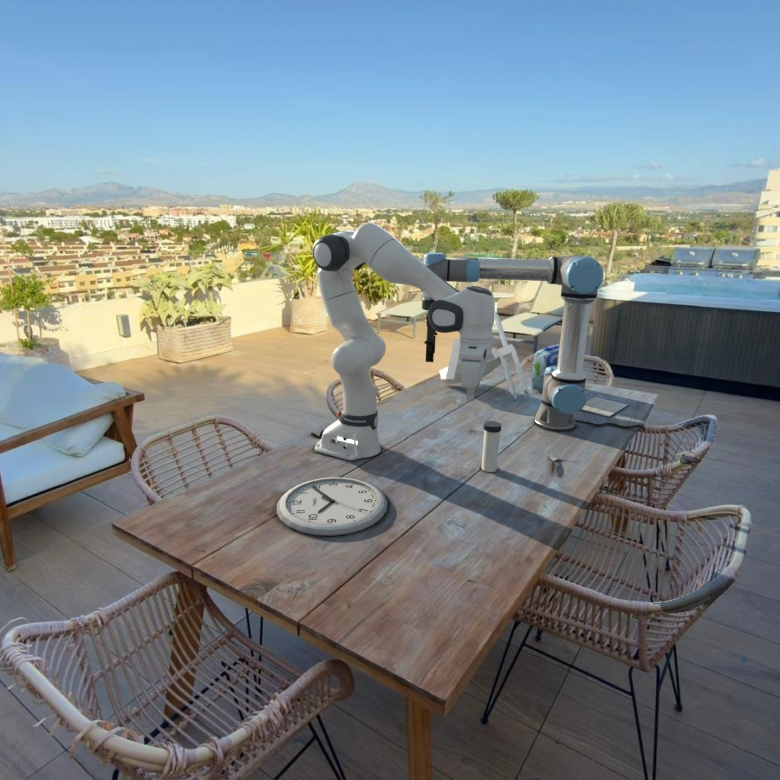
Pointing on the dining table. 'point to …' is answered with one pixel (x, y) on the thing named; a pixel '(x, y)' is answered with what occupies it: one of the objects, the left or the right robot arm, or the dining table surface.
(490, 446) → the jar
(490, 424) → the lid
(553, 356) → the lunch box
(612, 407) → the invitation card
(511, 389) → the white plastic object
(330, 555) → the dining table surface
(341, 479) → the wall clock
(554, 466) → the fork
